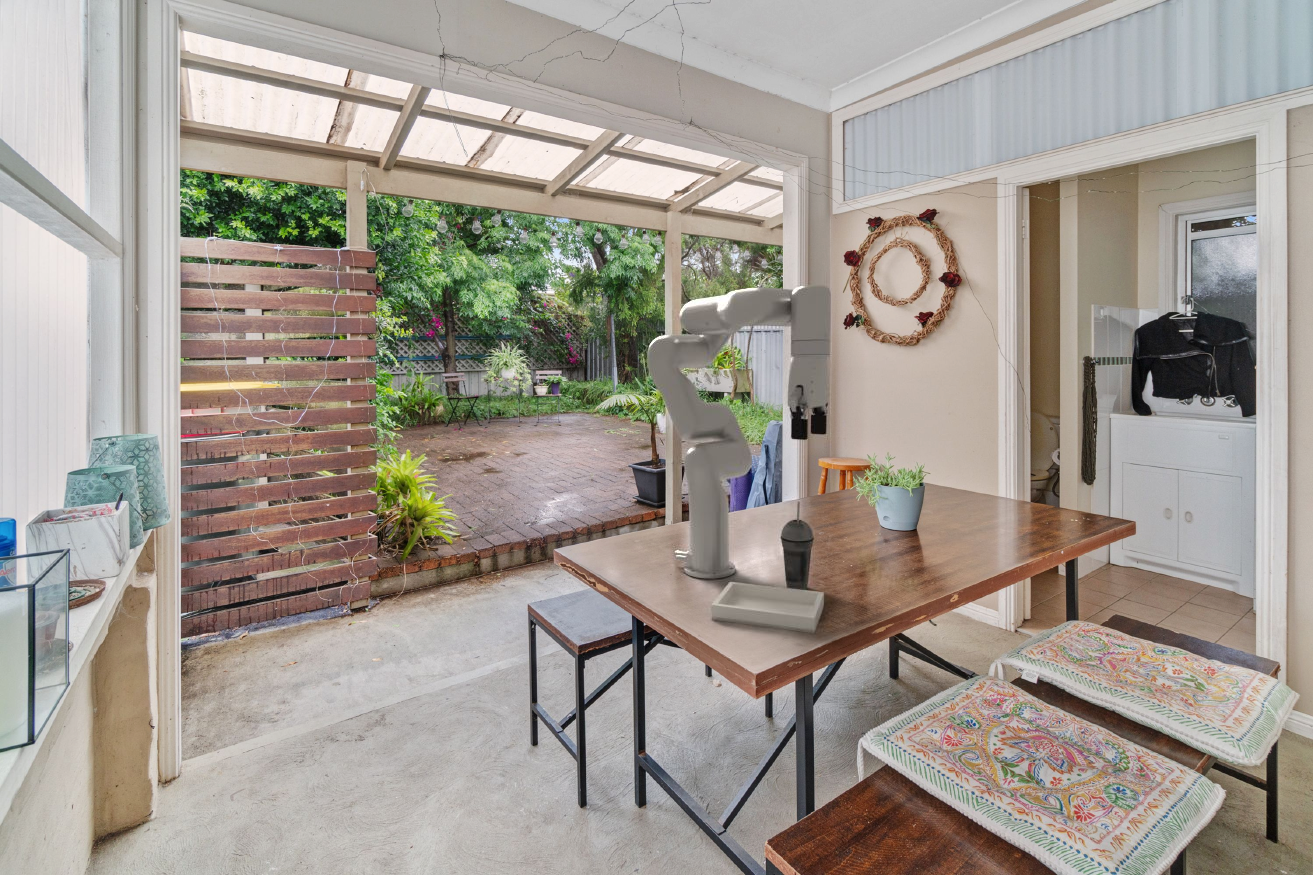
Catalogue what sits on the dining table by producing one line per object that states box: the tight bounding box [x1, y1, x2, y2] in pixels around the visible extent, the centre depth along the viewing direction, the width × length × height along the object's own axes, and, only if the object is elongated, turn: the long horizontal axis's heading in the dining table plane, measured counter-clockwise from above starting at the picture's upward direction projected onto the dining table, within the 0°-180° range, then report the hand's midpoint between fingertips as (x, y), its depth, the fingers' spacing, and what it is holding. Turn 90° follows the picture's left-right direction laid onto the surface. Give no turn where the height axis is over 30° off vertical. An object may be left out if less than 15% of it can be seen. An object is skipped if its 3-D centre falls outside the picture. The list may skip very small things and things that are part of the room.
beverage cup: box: [780, 501, 815, 590], centre depth 140 cm, size 7×7×20 cm
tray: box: [710, 581, 825, 634], centre depth 127 cm, size 20×14×3 cm
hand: (809, 436), depth 126 cm, fingers open, 9 cm apart
